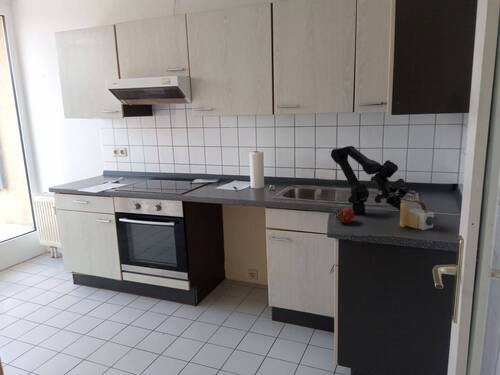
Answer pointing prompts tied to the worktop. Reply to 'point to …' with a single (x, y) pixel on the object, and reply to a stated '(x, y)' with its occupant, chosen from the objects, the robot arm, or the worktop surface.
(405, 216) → the side door
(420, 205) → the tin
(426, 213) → the camera housing
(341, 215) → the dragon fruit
